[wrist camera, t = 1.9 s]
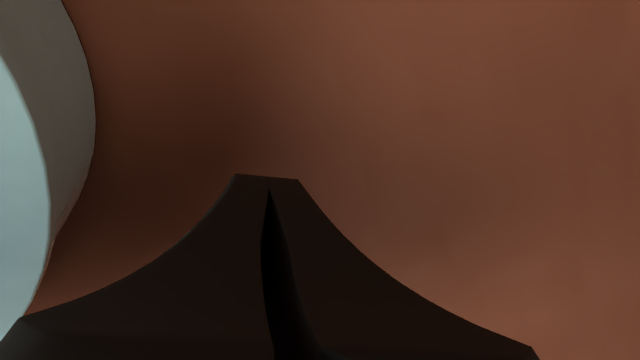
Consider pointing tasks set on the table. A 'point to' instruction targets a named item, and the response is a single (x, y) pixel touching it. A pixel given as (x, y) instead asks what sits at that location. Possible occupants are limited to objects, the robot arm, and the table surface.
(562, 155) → the table surface
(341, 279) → the robot arm
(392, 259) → the table surface
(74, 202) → the pot
